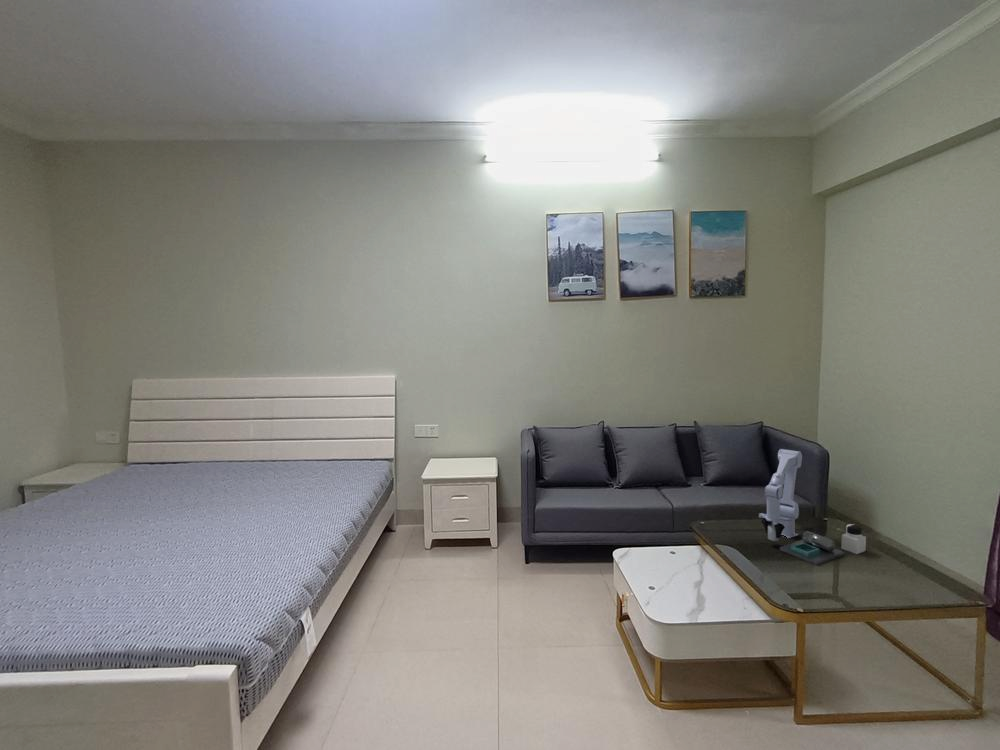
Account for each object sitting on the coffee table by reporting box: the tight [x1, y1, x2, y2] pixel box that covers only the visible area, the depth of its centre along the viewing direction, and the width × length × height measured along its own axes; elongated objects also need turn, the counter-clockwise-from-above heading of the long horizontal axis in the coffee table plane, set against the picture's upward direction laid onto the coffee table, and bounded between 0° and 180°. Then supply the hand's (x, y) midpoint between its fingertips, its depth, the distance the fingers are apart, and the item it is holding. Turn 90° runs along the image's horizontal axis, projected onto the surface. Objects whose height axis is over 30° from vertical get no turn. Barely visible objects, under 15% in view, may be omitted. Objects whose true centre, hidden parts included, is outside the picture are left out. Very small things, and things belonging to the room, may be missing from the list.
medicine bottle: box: [841, 523, 867, 555], centre depth 238 cm, size 7×7×12 cm
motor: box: [779, 530, 845, 566], centre depth 238 cm, size 18×20×7 cm
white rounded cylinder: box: [767, 523, 780, 542], centre depth 247 cm, size 5×5×6 cm
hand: (773, 535), depth 247 cm, fingers closed on white rounded cylinder, 5 cm apart
